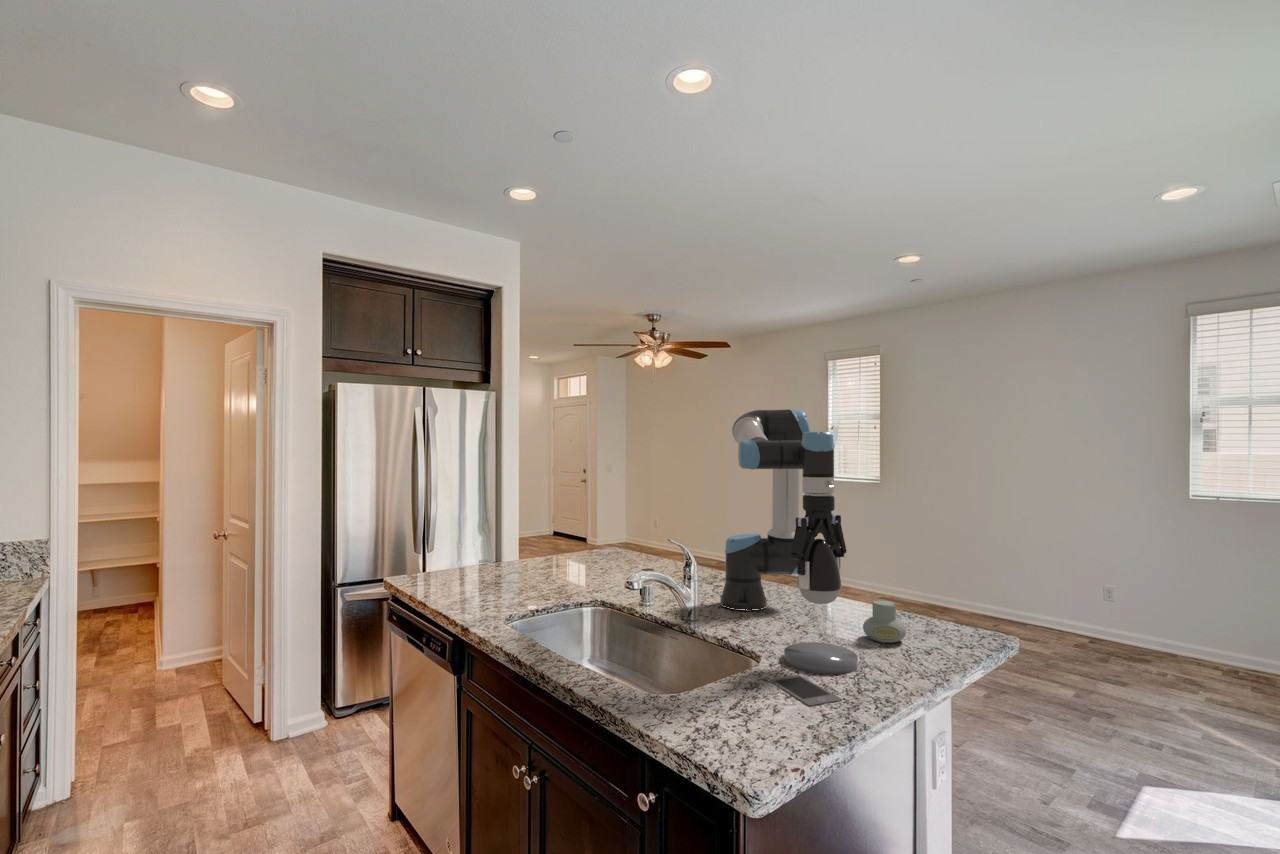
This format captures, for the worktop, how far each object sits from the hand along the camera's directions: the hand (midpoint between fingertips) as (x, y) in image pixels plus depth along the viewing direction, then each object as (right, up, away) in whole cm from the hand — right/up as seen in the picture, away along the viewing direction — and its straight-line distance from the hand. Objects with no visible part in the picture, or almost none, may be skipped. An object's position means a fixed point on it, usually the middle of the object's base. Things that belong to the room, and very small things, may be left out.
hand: (819, 585), depth 149 cm
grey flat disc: (0, -18, -1) cm, 18 cm away
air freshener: (+22, -19, +16) cm, 34 cm away
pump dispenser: (0, -4, 0) cm, 4 cm away
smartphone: (-9, -18, -18) cm, 27 cm away
